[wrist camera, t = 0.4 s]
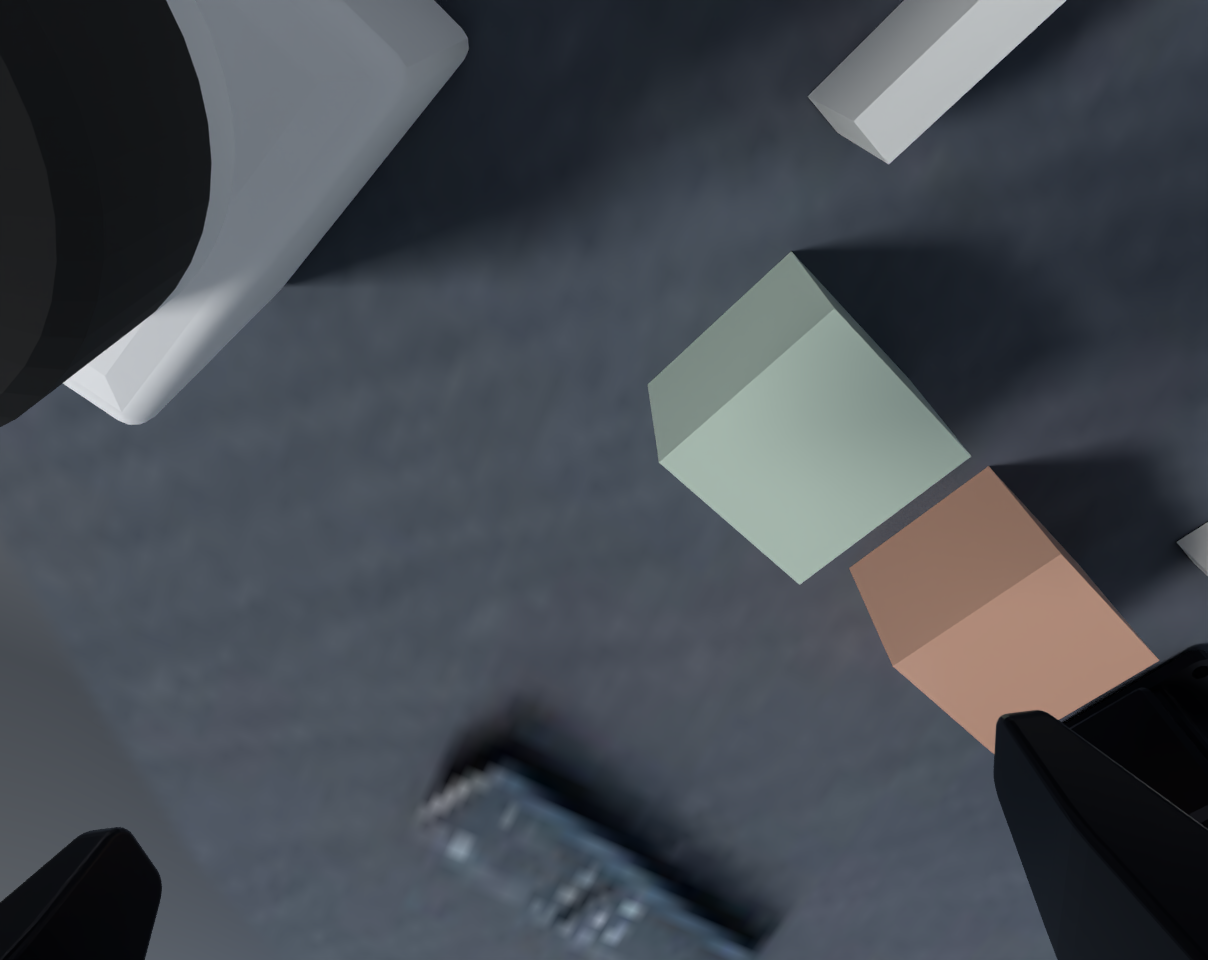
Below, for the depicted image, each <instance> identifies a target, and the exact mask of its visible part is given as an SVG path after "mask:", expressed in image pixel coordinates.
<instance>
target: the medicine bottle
mask: <svg viewBox="0 0 1208 960" xmlns="http://www.w3.org/2000/svg"><path fill="white" fill-rule="evenodd" d="M468 50H469V44H468V37H467V36H466V34H465V32H464V31H463V29H462V28H461V27H460V26H459V25H458V24H457V23H456V22H455V21H454V20H453V19H452V18H451V17H450V16H449V15H448V14H447V13H446V12H445V11H444V10H443V9H442V8H441V7H440V6H439V5H438V4H437V3H436V2H435V1H434V0H0V427H1V426H3V425H5V424H7V423H9V422H11V421H13V420H15V419H16V418H18V417H19V416H20V415H22V414H23V413H24V412H26V411H27V410H28V409H30V408H31V407H32V406H33V405H35V404H36V403H37V402H39V401H40V400H41V399H43V398H44V397H45V396H47V395H48V394H49V393H50V392H52V391H53V390H54V389H56V388H57V387H58V386H60V385H61V384H62V383H63V384H65V385H66V386H68V387H69V388H71V389H72V390H74V391H75V392H77V393H78V394H80V395H81V396H83V397H84V398H86V399H87V400H89V401H90V402H92V403H93V404H95V405H96V406H98V407H99V408H101V409H102V410H104V411H105V412H107V413H108V414H110V415H111V416H112V417H114V418H115V419H117V420H119V421H121V422H124V423H126V424H128V425H133V424H142V423H144V422H147V421H148V420H150V419H152V418H153V417H155V416H156V415H157V414H158V413H159V412H160V411H161V410H162V409H163V408H164V407H165V406H166V405H167V404H168V403H169V402H170V401H171V400H172V399H173V398H174V397H175V396H176V395H177V394H178V393H179V392H180V391H181V390H182V389H183V388H184V387H185V386H186V385H187V384H188V383H189V382H190V381H191V380H192V379H193V378H194V377H195V376H196V375H197V374H198V373H199V372H200V371H201V370H202V369H203V368H204V367H205V366H206V365H207V364H208V363H209V362H210V361H211V359H212V358H213V357H214V356H215V355H216V354H217V353H218V352H219V351H220V350H221V349H222V348H223V347H224V346H225V345H226V344H227V343H228V342H229V341H230V340H231V339H232V338H233V337H234V336H235V335H236V334H237V333H238V332H239V331H240V330H241V329H242V328H243V327H244V326H245V325H246V324H247V323H248V322H249V321H250V320H251V319H252V318H253V317H254V316H255V315H256V314H257V313H258V312H259V311H260V310H261V309H262V308H263V307H264V306H265V305H266V304H267V303H268V302H269V301H270V300H271V299H272V298H273V297H274V296H275V295H276V294H277V293H278V292H279V291H280V290H281V289H282V288H283V287H284V285H285V284H286V283H287V282H288V280H289V279H290V278H291V277H292V275H293V274H294V273H295V271H296V270H297V269H298V268H299V266H300V265H301V264H302V263H303V261H304V260H305V259H306V258H307V256H308V255H309V254H310V253H311V251H312V250H313V249H314V248H315V246H316V245H317V244H318V243H319V241H320V240H321V239H322V238H323V236H324V235H325V234H326V233H327V231H328V230H329V229H330V228H331V226H332V225H333V224H334V223H335V221H336V220H337V219H338V218H339V216H340V215H341V214H342V212H343V211H344V210H345V209H346V207H347V206H348V205H349V204H350V202H351V201H352V200H353V199H354V197H355V196H356V195H357V194H358V192H359V191H360V190H361V189H362V187H363V186H364V185H365V184H366V182H367V181H368V180H369V179H370V177H371V176H372V175H373V174H374V172H375V171H376V170H377V169H378V167H379V166H380V165H381V164H382V162H383V161H384V160H385V159H386V157H387V156H388V155H389V153H390V152H391V151H392V150H393V148H394V147H395V146H396V145H397V143H398V142H399V141H400V140H401V138H402V137H403V136H404V135H405V133H406V132H407V131H408V130H409V128H410V127H411V126H412V125H413V123H414V122H415V121H416V120H417V118H418V117H419V116H420V115H421V113H422V112H423V111H424V110H425V108H426V107H427V106H428V105H429V103H430V102H431V101H432V100H433V98H434V97H435V96H436V95H437V93H438V92H439V91H440V89H441V88H442V87H443V86H444V84H445V83H446V82H447V81H448V79H449V78H450V77H451V76H452V74H453V73H454V72H455V71H456V69H457V68H458V67H459V66H460V64H461V63H462V62H463V61H464V59H465V57H466V55H467V53H468Z"/></svg>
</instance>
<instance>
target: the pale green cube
mask: <svg viewBox="0 0 1208 960" xmlns="http://www.w3.org/2000/svg"><path fill="white" fill-rule="evenodd" d="M648 390H649V396H650V403H651V410H652V417H653V424H654V431H655V438H656V445H657V452H658V459H659V463H660V464H661V465H663V466H664V467H665V468H666V469H667V470H668V471H669V472H671V473H672V474H673V475H674V476H675V477H676V478H678V479H679V480H680V481H681V482H682V483H683V484H684V485H686V486H687V487H688V488H689V489H690V490H691V491H692V492H694V493H695V494H696V495H697V496H698V497H699V498H701V499H702V500H703V501H704V502H705V503H706V504H707V505H709V506H710V507H711V508H712V509H713V510H714V511H715V512H717V513H718V514H719V515H720V516H721V517H722V518H723V519H725V520H726V521H727V522H728V523H729V524H730V525H732V526H733V527H734V528H735V529H736V530H737V531H738V532H740V533H741V534H742V535H743V536H744V537H745V538H746V539H748V540H749V541H750V542H751V543H752V544H753V545H755V546H756V547H757V548H758V549H759V550H760V551H761V552H763V553H764V554H765V555H766V556H767V557H768V558H769V559H771V560H772V561H773V562H774V563H775V564H776V565H777V566H779V567H780V568H781V569H782V570H783V571H784V572H786V573H787V574H788V575H789V576H790V577H791V578H792V579H794V580H795V581H796V582H797V583H798V584H799V585H800V584H801V583H802V582H804V581H805V580H807V579H808V578H809V577H811V576H812V575H813V574H815V573H816V572H817V571H819V570H820V569H821V568H823V567H824V566H825V565H827V564H828V563H829V562H831V561H832V560H833V559H835V558H836V557H837V556H839V555H840V554H841V553H843V552H844V551H845V550H847V549H848V548H849V547H851V546H852V545H853V544H855V543H856V542H857V541H859V540H860V539H861V538H863V537H864V536H865V535H867V534H868V533H869V532H871V531H872V530H873V529H875V528H876V527H877V526H879V525H880V524H881V523H883V522H884V521H885V520H887V519H888V518H889V517H891V516H892V515H893V514H895V513H896V512H897V511H899V510H900V509H902V508H903V507H904V506H906V505H907V504H908V503H910V502H911V501H912V500H914V499H915V498H916V497H918V496H919V495H920V494H922V493H923V492H924V491H926V490H927V489H928V488H930V487H931V486H932V485H934V484H935V483H936V482H938V481H939V480H940V479H942V478H943V477H944V476H946V475H947V474H948V473H950V472H951V471H952V470H954V469H955V468H956V467H958V466H959V465H960V464H962V463H963V462H964V461H966V460H967V459H968V458H970V457H971V455H970V454H969V453H968V451H967V450H966V449H965V448H964V446H963V445H962V444H961V443H960V441H959V440H958V439H957V438H956V437H955V435H954V434H953V433H952V432H951V430H950V429H949V428H948V427H947V425H946V424H945V423H944V422H943V420H942V419H941V418H940V417H939V415H938V414H937V413H936V412H935V411H934V409H933V408H932V407H931V406H930V404H929V403H928V402H927V401H926V399H925V398H924V397H923V396H922V394H921V393H920V392H919V391H918V389H917V388H916V387H915V386H914V385H913V383H912V382H911V381H910V380H909V378H908V377H907V376H906V375H905V374H904V373H903V372H902V371H901V370H900V369H899V368H898V367H897V365H896V364H895V363H894V362H893V361H892V360H891V359H890V358H889V357H888V356H887V355H886V353H885V352H884V351H883V350H882V349H881V348H880V347H879V346H878V345H877V344H876V343H875V342H874V340H873V339H872V338H871V337H870V336H869V335H868V334H867V333H866V332H865V331H864V330H863V328H862V327H861V326H860V325H859V324H858V323H857V322H856V321H855V320H854V319H853V318H852V317H851V315H850V314H849V313H848V312H847V311H846V310H845V309H844V308H843V307H842V306H841V305H840V303H839V302H838V301H837V300H836V299H835V298H834V297H833V296H832V295H831V294H830V293H829V292H828V290H827V289H826V288H825V287H824V286H823V285H822V284H821V283H820V282H819V281H818V280H817V278H816V277H815V276H814V275H813V274H812V273H811V272H810V271H809V270H808V269H807V268H806V267H805V265H804V264H803V263H802V262H801V261H800V260H799V259H798V258H797V257H796V256H795V255H794V253H793V252H792V251H791V252H790V253H789V254H788V255H787V256H786V257H785V258H784V259H782V260H781V261H780V262H779V263H778V264H777V265H776V266H775V267H774V268H773V269H772V270H771V271H770V272H768V273H767V274H766V275H765V276H764V277H763V278H762V279H761V280H760V281H759V282H758V283H757V284H756V285H754V286H753V287H752V288H751V289H750V290H749V291H748V292H747V293H746V294H745V295H744V296H743V297H741V298H740V299H739V300H738V301H737V302H736V303H735V304H734V305H733V306H732V307H731V308H730V309H729V310H727V311H726V312H725V313H724V314H723V315H722V316H721V317H720V318H719V319H718V320H717V321H716V322H715V323H713V324H712V325H711V326H710V327H709V328H708V329H707V330H706V331H705V332H704V333H703V334H702V335H701V336H699V337H698V338H697V339H696V340H695V341H694V342H693V343H692V344H691V345H690V346H689V347H688V348H687V349H685V350H684V351H683V352H682V353H681V354H680V355H679V356H678V357H677V358H676V359H675V360H674V361H673V362H671V363H670V364H669V365H668V366H667V367H666V368H665V369H664V370H663V371H662V372H661V373H660V374H659V375H657V376H656V377H655V378H654V379H653V380H652V381H651V382H650V383H649V384H648Z"/></svg>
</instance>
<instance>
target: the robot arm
mask: <svg viewBox="0 0 1208 960" xmlns="http://www.w3.org/2000/svg"><path fill="white" fill-rule="evenodd" d="M994 782H995V787H996V791H997V795H998V798H999V801H1000V804H1001V807H1002V809H1003V812H1004V815H1005V818H1006V820H1007V823H1008V826H1009V829H1010V831H1011V834H1012V837H1013V840H1014V843H1015V845H1016V848H1017V851H1018V854H1019V856H1020V859H1021V862H1022V865H1023V867H1024V870H1025V873H1026V876H1027V878H1028V881H1029V884H1030V887H1031V889H1032V892H1033V895H1034V898H1035V900H1036V903H1037V906H1038V909H1039V912H1040V914H1041V917H1042V920H1043V923H1044V925H1045V928H1046V931H1047V933H1048V936H1049V939H1050V941H1051V944H1052V946H1053V949H1054V952H1055V954H1056V957H1057V959H1058V960H1208V653H1207V652H1206V651H1202V650H1195V651H1191V652H1188V653H1186V654H1184V655H1182V656H1181V657H1179V658H1177V659H1175V660H1174V661H1172V662H1170V663H1169V664H1167V665H1165V666H1163V667H1162V668H1160V669H1158V670H1157V671H1155V672H1153V673H1151V674H1150V675H1148V676H1146V677H1145V678H1143V679H1141V680H1140V681H1138V682H1136V683H1134V684H1133V685H1131V686H1129V687H1128V688H1126V689H1124V690H1122V691H1121V692H1119V693H1117V694H1116V695H1114V696H1112V697H1110V698H1109V699H1107V700H1105V701H1104V702H1102V703H1100V704H1099V705H1097V706H1095V707H1093V708H1092V709H1090V710H1088V711H1087V712H1085V713H1083V714H1081V715H1080V716H1078V717H1076V718H1075V719H1073V720H1071V721H1070V722H1068V723H1066V724H1063V723H1062V722H1060V721H1059V720H1057V719H1056V718H1055V717H1053V716H1052V715H1050V714H1049V713H1047V712H1044V711H1041V710H1031V711H1023V712H1015V713H1007V714H1003V715H1001V716H1000V717H999V718H998V720H997V724H996V735H995V753H994ZM161 891H162V884H161V878H160V875H159V873H158V871H157V869H156V868H155V866H154V865H153V864H152V862H151V861H150V859H149V858H148V856H147V855H146V853H145V852H144V850H143V849H142V847H141V846H140V845H139V843H138V842H137V840H136V839H135V837H134V836H133V835H132V834H131V832H130V831H128V830H127V829H124V828H121V827H115V828H107V829H100V830H93V831H89V832H86V833H83V834H81V835H80V836H78V837H77V838H76V839H74V840H73V841H72V842H71V843H70V844H68V845H67V846H66V847H65V848H64V849H63V850H61V851H60V852H59V853H58V854H57V855H56V856H54V857H53V858H52V859H51V860H50V861H49V862H47V863H46V864H45V865H44V866H43V867H41V868H40V869H39V870H38V871H37V872H36V873H34V874H33V875H32V876H31V877H30V878H28V879H27V880H26V881H25V882H24V883H23V884H21V885H20V886H19V887H18V888H17V889H16V890H14V891H13V892H12V893H11V894H10V895H9V896H7V897H6V898H5V899H4V900H3V901H1V902H0V960H145V956H146V953H147V949H148V945H149V941H150V938H151V933H152V930H153V926H154V922H155V918H156V915H157V911H158V907H159V903H160V899H161Z"/></svg>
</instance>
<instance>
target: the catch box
mask: <svg viewBox="0 0 1208 960" xmlns="http://www.w3.org/2000/svg"><path fill="white" fill-rule="evenodd" d="M1065 1H1066V0H904V1H903V2H902V3H901V4H900V5H899V6H898V7H897V8H896V9H895V10H894V11H893V12H892V13H891V14H890V15H889V16H888V17H887V18H886V19H885V20H884V21H883V22H882V23H881V24H880V25H879V26H878V27H877V28H876V29H875V30H874V31H873V32H872V33H871V34H870V35H869V36H868V37H867V38H866V39H865V40H864V41H863V42H862V43H861V44H860V45H859V46H858V47H857V48H856V49H855V50H854V51H853V52H852V53H851V54H850V55H849V56H848V57H847V58H846V59H845V60H844V61H843V62H842V63H841V64H840V65H839V66H838V67H837V68H836V69H835V70H834V71H833V72H832V73H831V74H830V75H829V76H828V77H827V78H826V79H825V80H824V81H823V82H822V83H821V84H820V85H819V86H818V87H817V88H816V89H815V90H814V91H813V92H812V93H811V94H810V95H809V96H808V98H809V99H810V100H811V101H812V103H813V104H814V105H815V106H816V107H817V109H818V110H819V111H820V112H821V113H822V115H823V116H824V117H825V118H826V119H827V121H828V122H829V123H830V124H831V125H832V127H833V128H834V129H835V130H836V132H837V133H839V134H840V135H842V136H843V137H845V138H847V139H848V140H850V141H852V142H853V143H855V144H856V145H858V146H860V147H861V148H863V149H864V150H866V151H868V152H869V153H871V154H873V155H874V156H876V157H877V158H879V159H881V160H882V161H884V162H886V163H887V164H890V163H891V162H892V161H893V160H894V159H895V158H896V157H897V156H898V155H899V154H900V153H902V152H903V151H904V150H905V149H906V148H907V147H908V146H909V145H910V144H911V143H912V142H913V141H915V140H916V139H917V138H918V137H919V136H920V135H921V134H922V133H923V132H924V131H925V130H926V129H928V128H929V127H930V126H931V125H932V124H933V123H934V122H935V121H936V120H937V119H938V118H939V117H941V116H942V115H943V114H944V113H945V112H946V111H947V110H948V109H949V108H950V107H951V106H952V105H954V104H955V103H956V102H957V101H958V100H959V99H960V98H961V97H962V96H963V95H964V94H965V93H967V92H968V91H969V90H970V89H971V88H972V87H973V86H974V85H975V84H976V83H977V82H978V81H980V80H981V79H982V78H983V77H984V76H985V75H986V74H987V73H988V72H989V71H990V70H991V69H993V68H994V67H995V66H996V65H997V64H998V63H999V62H1000V61H1001V60H1002V59H1003V58H1004V57H1006V56H1007V55H1008V54H1009V53H1010V52H1011V51H1012V50H1013V49H1014V48H1015V47H1016V46H1017V45H1019V44H1020V43H1021V42H1022V41H1023V40H1024V39H1025V38H1026V37H1027V36H1028V35H1029V34H1030V33H1032V32H1033V31H1034V30H1035V29H1036V28H1037V27H1038V26H1039V25H1040V24H1041V23H1042V22H1043V21H1044V20H1046V19H1047V18H1048V17H1049V16H1050V15H1051V14H1052V13H1053V12H1054V11H1055V10H1056V9H1057V8H1059V7H1060V6H1061V5H1062V4H1063V3H1064V2H1065ZM1177 543H1178V545H1179V546H1180V547H1181V548H1182V549H1183V551H1184V552H1185V553H1186V554H1187V556H1188V557H1189V558H1190V559H1191V560H1192V562H1193V563H1194V564H1195V565H1196V566H1197V567H1198V568H1199V569H1201V570H1202V571H1203V572H1204V573H1205V574H1206V575H1207V576H1208V522H1207V523H1205V524H1204V525H1202V526H1201V527H1199V528H1198V529H1196V530H1194V531H1193V532H1191V533H1190V534H1188V535H1187V536H1185V537H1183V538H1182V539H1180V540H1179V541H1177Z"/></svg>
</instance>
